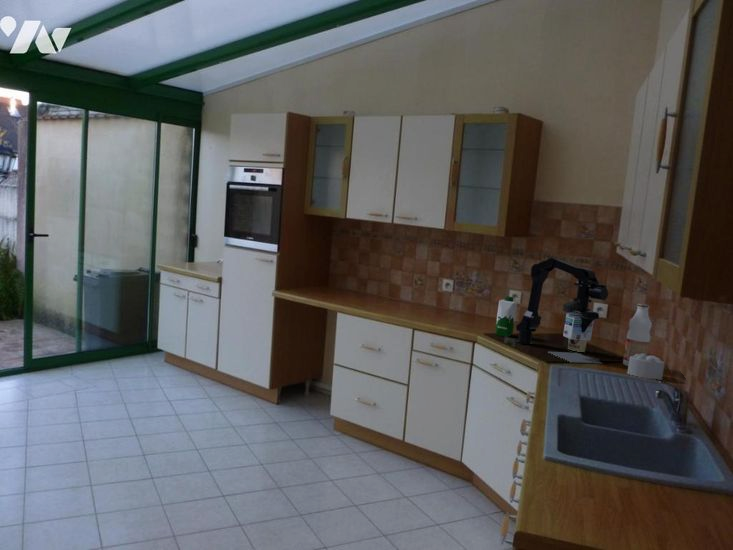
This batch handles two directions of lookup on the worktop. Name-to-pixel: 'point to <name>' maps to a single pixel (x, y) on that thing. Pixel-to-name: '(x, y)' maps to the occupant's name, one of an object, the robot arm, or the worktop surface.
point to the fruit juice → (638, 333)
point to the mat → (575, 357)
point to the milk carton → (505, 317)
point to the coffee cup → (577, 345)
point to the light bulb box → (576, 328)
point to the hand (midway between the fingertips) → (578, 330)
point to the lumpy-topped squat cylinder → (646, 366)
